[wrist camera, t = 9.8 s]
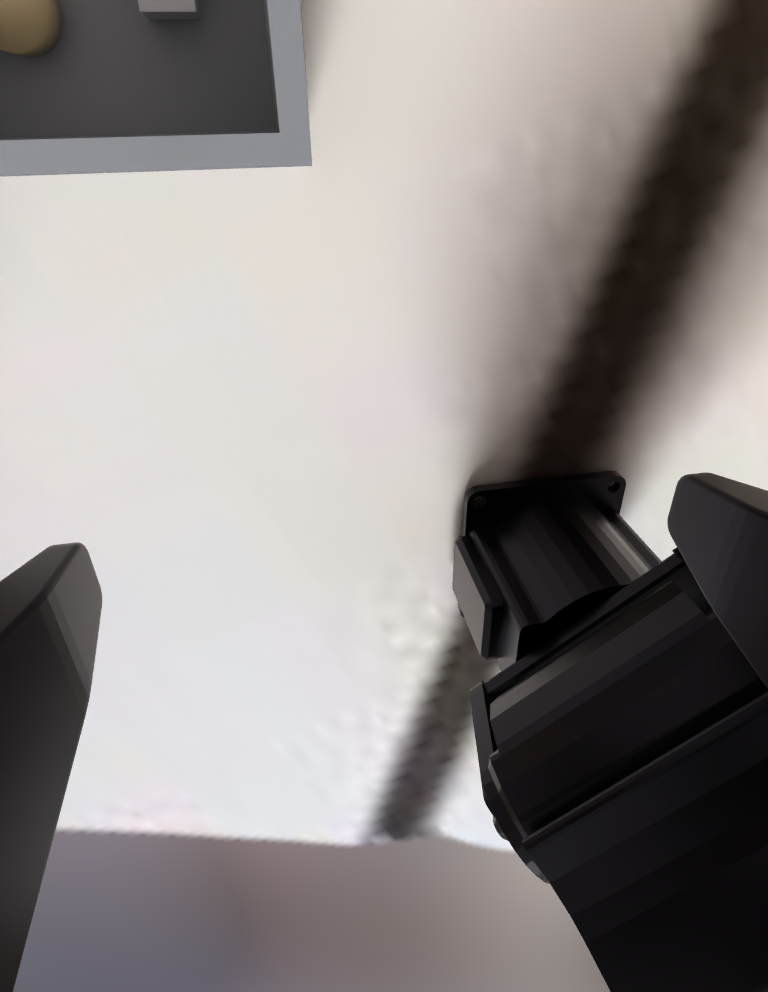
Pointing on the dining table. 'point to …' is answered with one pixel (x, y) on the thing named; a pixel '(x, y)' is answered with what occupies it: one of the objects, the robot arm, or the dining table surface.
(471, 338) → the dining table surface
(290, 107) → the tub
